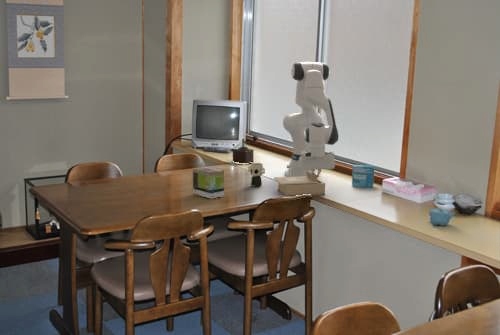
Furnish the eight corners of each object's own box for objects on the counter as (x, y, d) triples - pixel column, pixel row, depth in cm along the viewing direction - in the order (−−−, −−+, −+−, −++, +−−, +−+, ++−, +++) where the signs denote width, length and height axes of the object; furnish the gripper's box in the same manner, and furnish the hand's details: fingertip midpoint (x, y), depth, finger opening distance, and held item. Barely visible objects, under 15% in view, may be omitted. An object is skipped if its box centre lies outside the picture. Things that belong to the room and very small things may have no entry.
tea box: (224, 197, 343) (224, 170, 340) (209, 200, 337) (209, 172, 334) (207, 192, 354) (207, 165, 351) (192, 194, 348) (192, 168, 345)
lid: (274, 178, 357) (274, 171, 357) (310, 177, 362) (310, 170, 361) (281, 184, 343) (281, 177, 342) (318, 183, 347) (318, 176, 346)
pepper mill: (245, 165, 426) (245, 138, 423) (232, 163, 433) (232, 137, 429) (259, 162, 439) (259, 135, 435) (246, 160, 445) (246, 134, 441)
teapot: (456, 225, 295) (457, 209, 294) (453, 228, 290) (454, 212, 288) (430, 221, 301) (431, 205, 300) (426, 224, 296) (427, 208, 294)
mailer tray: (278, 190, 359) (278, 178, 358) (316, 188, 364) (316, 177, 362) (285, 196, 344) (285, 185, 343) (324, 195, 349) (325, 183, 348)
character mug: (244, 186, 368) (245, 164, 365) (251, 184, 374) (251, 162, 371) (261, 188, 362) (261, 166, 360) (267, 186, 368) (268, 164, 366)
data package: (351, 186, 369) (352, 166, 366) (352, 185, 373) (353, 164, 371) (373, 187, 366) (374, 167, 364) (373, 186, 371) (374, 165, 368)
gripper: (332, 150, 357) (332, 175, 359) (297, 152, 352) (296, 176, 355) (336, 152, 351) (336, 177, 353) (300, 154, 346) (300, 179, 349)
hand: (316, 177), depth 354 cm, fingers closed
